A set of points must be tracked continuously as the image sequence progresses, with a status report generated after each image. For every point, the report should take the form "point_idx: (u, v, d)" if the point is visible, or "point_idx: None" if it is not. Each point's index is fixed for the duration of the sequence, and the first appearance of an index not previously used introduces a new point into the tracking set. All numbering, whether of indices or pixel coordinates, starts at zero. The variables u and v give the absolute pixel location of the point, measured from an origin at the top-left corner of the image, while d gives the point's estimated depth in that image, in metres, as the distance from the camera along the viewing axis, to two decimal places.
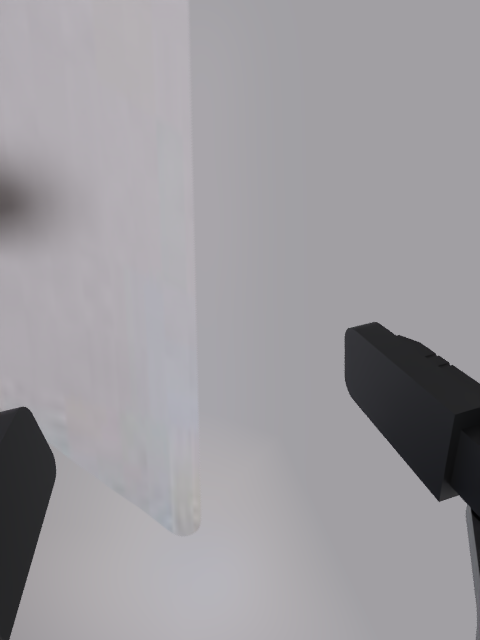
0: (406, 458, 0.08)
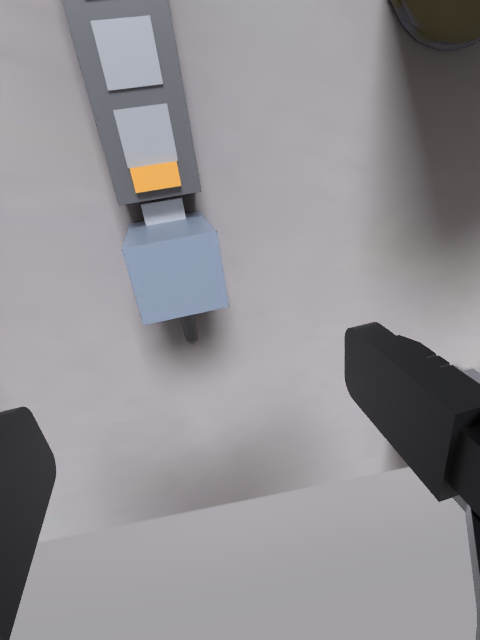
0: (405, 458, 0.08)
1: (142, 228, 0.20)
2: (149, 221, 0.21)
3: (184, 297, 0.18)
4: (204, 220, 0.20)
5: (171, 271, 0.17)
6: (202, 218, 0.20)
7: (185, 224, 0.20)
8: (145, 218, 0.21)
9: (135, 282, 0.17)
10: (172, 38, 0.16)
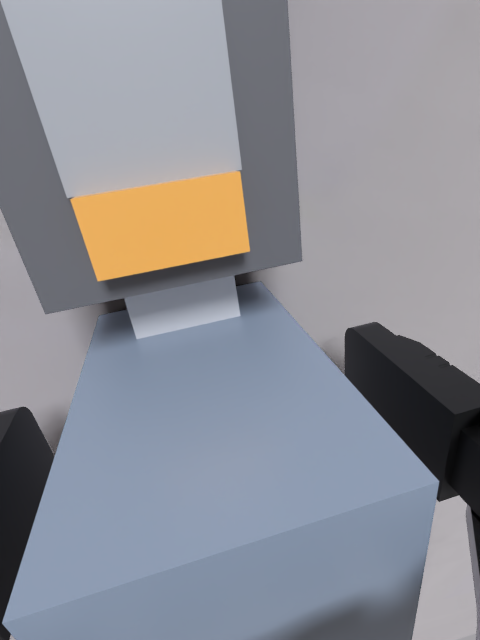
0: None
1: (126, 357, 0.07)
2: (145, 328, 0.08)
3: None
4: (305, 341, 0.07)
5: (235, 629, 0.04)
6: (290, 324, 0.08)
7: (253, 358, 0.07)
8: (134, 322, 0.08)
9: None
10: None
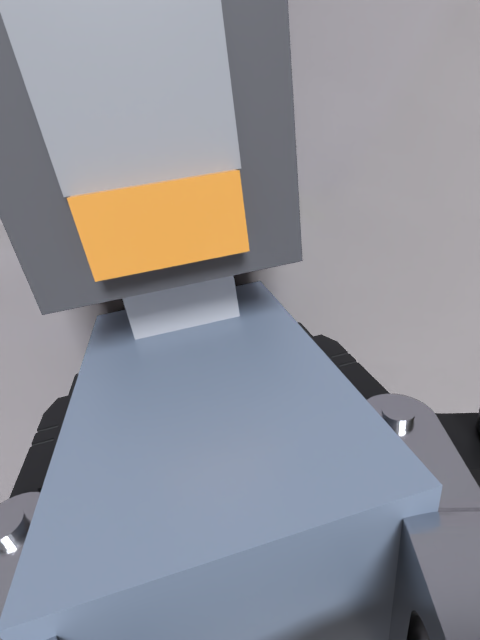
0: None
1: (124, 358, 0.07)
2: (144, 329, 0.08)
3: None
4: (305, 341, 0.07)
5: (235, 635, 0.04)
6: (290, 324, 0.07)
7: (253, 359, 0.06)
8: (133, 322, 0.08)
9: None
10: None
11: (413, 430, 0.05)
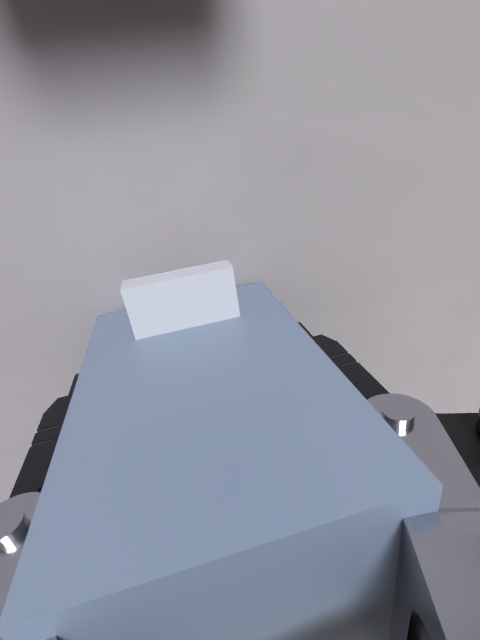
0: None
1: (124, 358, 0.07)
2: (144, 329, 0.08)
3: None
4: (306, 341, 0.07)
5: (235, 634, 0.04)
6: (290, 324, 0.07)
7: (253, 359, 0.06)
8: (133, 322, 0.08)
9: None
10: None
11: (413, 430, 0.05)
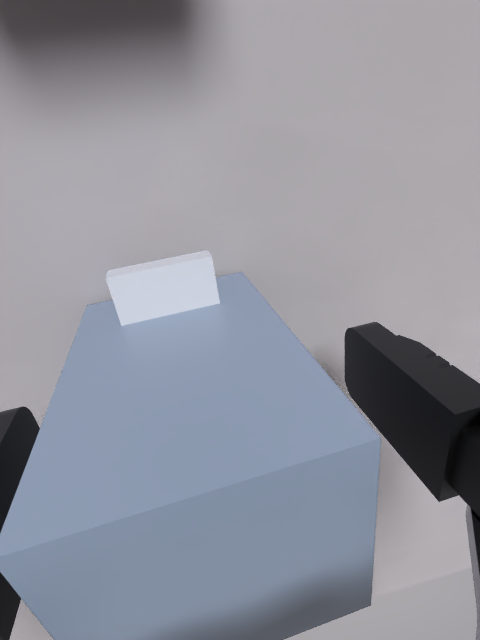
0: (406, 458, 0.08)
1: (110, 341, 0.08)
2: (129, 315, 0.08)
3: (243, 621, 0.05)
4: (278, 324, 0.07)
5: (204, 573, 0.05)
6: (266, 310, 0.08)
7: (228, 340, 0.07)
8: (119, 309, 0.08)
9: (68, 630, 0.04)
10: None
11: None
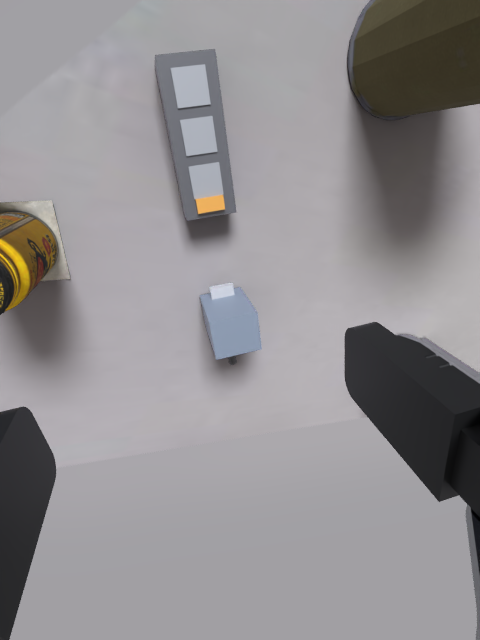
0: (406, 458, 0.08)
1: (211, 302, 0.36)
2: (214, 297, 0.36)
3: (238, 345, 0.33)
4: (246, 299, 0.35)
5: (232, 332, 0.32)
6: (244, 296, 0.36)
7: (236, 301, 0.35)
8: (211, 295, 0.36)
9: (214, 338, 0.32)
10: (223, 126, 0.29)
11: None
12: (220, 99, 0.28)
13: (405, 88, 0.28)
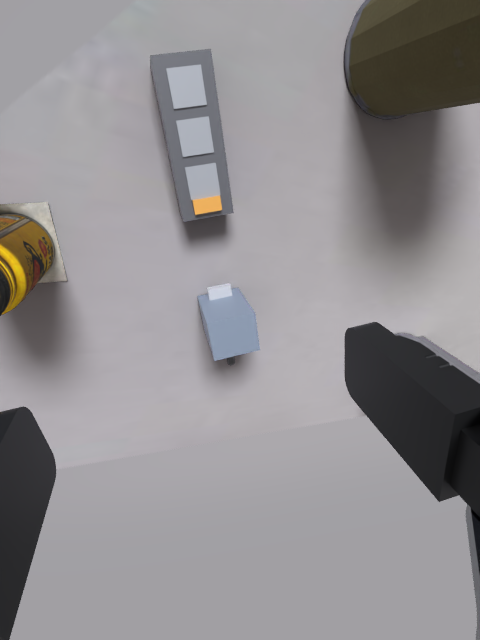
0: (406, 458, 0.08)
1: (208, 303, 0.35)
2: (211, 298, 0.36)
3: (236, 346, 0.33)
4: (244, 299, 0.35)
5: (230, 333, 0.32)
6: (242, 297, 0.36)
7: (234, 302, 0.35)
8: (209, 296, 0.36)
9: (212, 339, 0.32)
10: (220, 127, 0.29)
11: None
12: (216, 99, 0.28)
13: (402, 88, 0.27)
